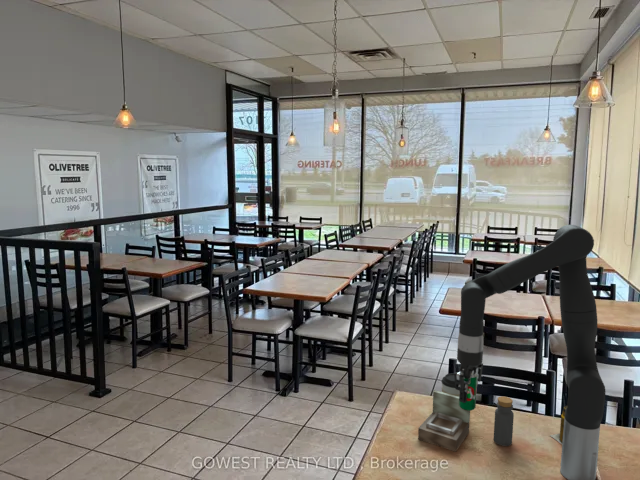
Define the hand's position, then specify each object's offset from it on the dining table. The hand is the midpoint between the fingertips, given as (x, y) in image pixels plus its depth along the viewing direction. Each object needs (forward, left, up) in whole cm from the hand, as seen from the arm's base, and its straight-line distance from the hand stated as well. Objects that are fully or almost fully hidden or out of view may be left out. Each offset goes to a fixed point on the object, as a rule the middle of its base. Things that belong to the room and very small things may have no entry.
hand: (467, 398), depth 148 cm
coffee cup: (+12, -24, -20) cm, 33 cm away
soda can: (0, 0, -3) cm, 3 cm away
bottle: (-8, -16, -20) cm, 26 cm away
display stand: (+10, -8, -20) cm, 23 cm away
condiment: (-26, -29, -20) cm, 43 cm away
